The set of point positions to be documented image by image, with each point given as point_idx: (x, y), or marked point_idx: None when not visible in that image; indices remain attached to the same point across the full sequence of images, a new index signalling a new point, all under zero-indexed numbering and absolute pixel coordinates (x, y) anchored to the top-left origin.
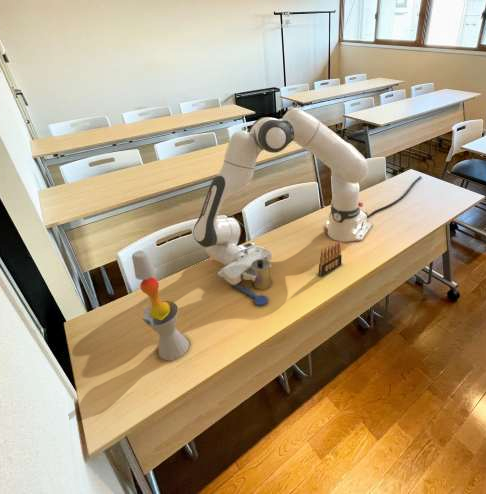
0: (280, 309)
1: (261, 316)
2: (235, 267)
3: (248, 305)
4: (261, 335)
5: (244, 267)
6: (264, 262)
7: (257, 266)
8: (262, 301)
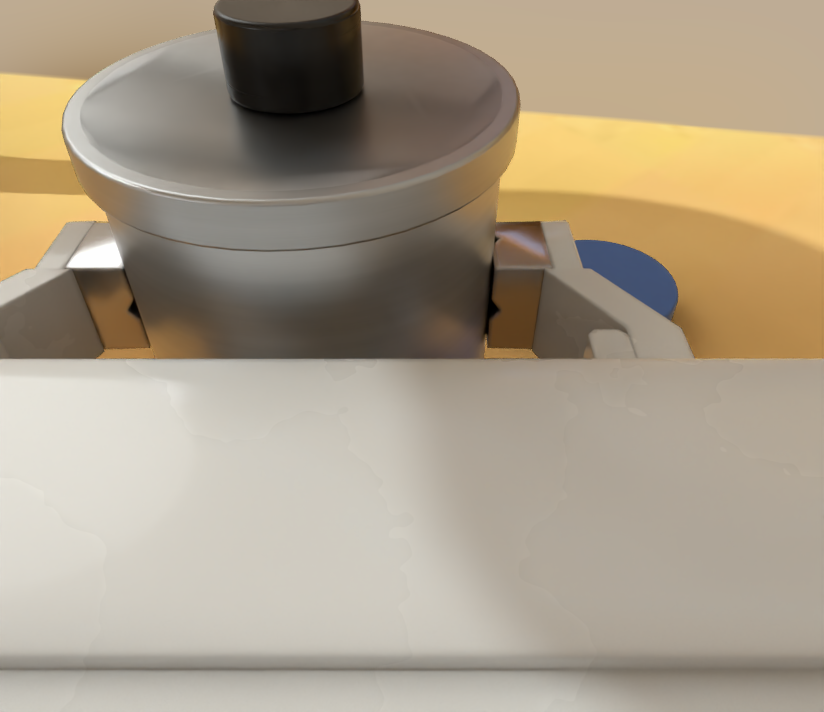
0: (520, 180)
1: (704, 220)
2: (818, 646)
3: (749, 357)
4: (802, 148)
5: (549, 410)
6: (186, 80)
7: (392, 91)
8: (602, 258)
